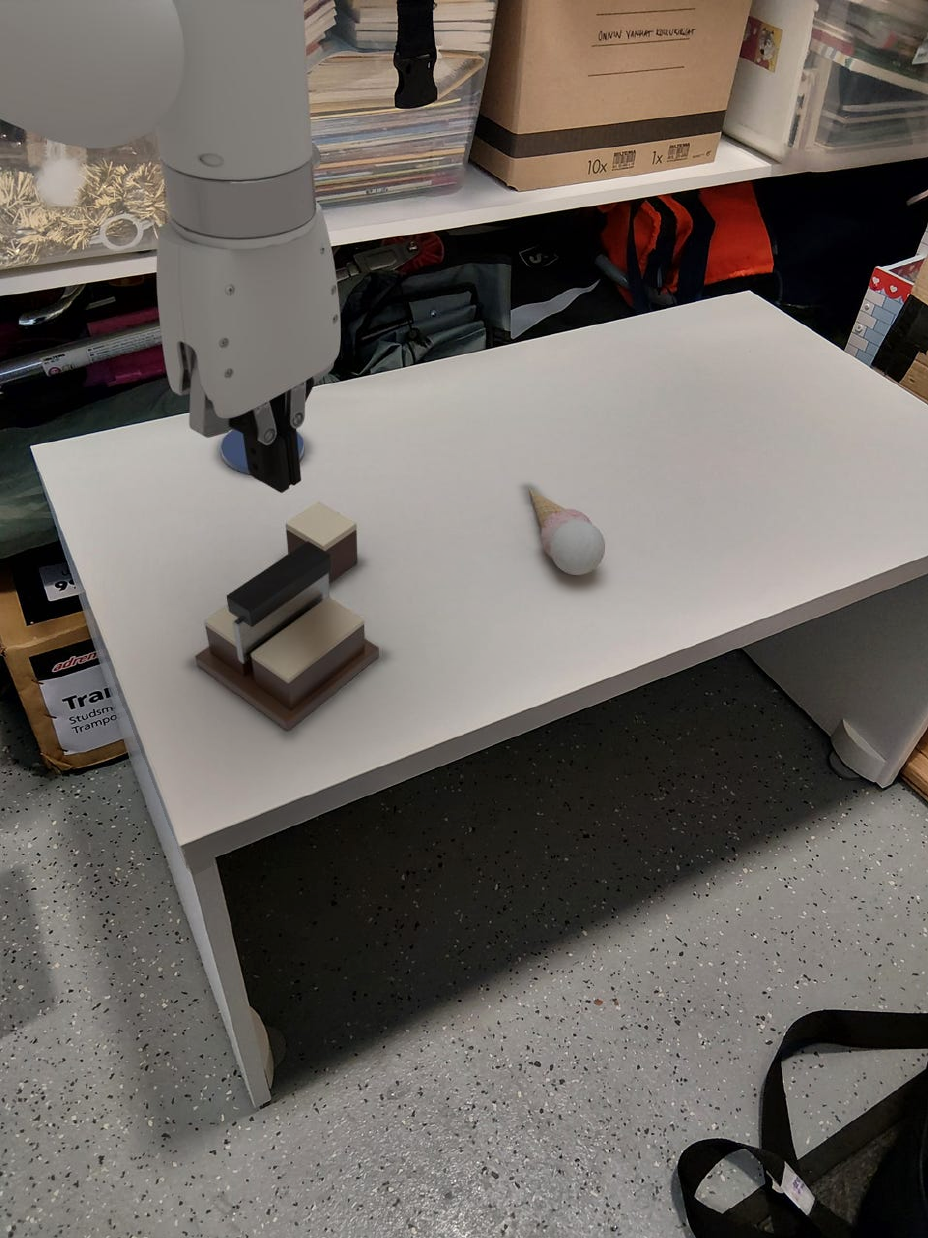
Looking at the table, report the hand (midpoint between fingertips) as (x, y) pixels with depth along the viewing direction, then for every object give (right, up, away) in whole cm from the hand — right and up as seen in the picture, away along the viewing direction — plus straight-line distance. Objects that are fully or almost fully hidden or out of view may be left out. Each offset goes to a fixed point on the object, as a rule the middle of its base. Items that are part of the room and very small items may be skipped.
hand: (275, 478), depth 61 cm
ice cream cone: (+20, -2, +25) cm, 32 cm away
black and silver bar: (-1, -10, +10) cm, 14 cm away
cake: (-1, -12, +12) cm, 17 cm away
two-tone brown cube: (0, -4, +20) cm, 21 cm away
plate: (-8, +7, +31) cm, 33 cm away
